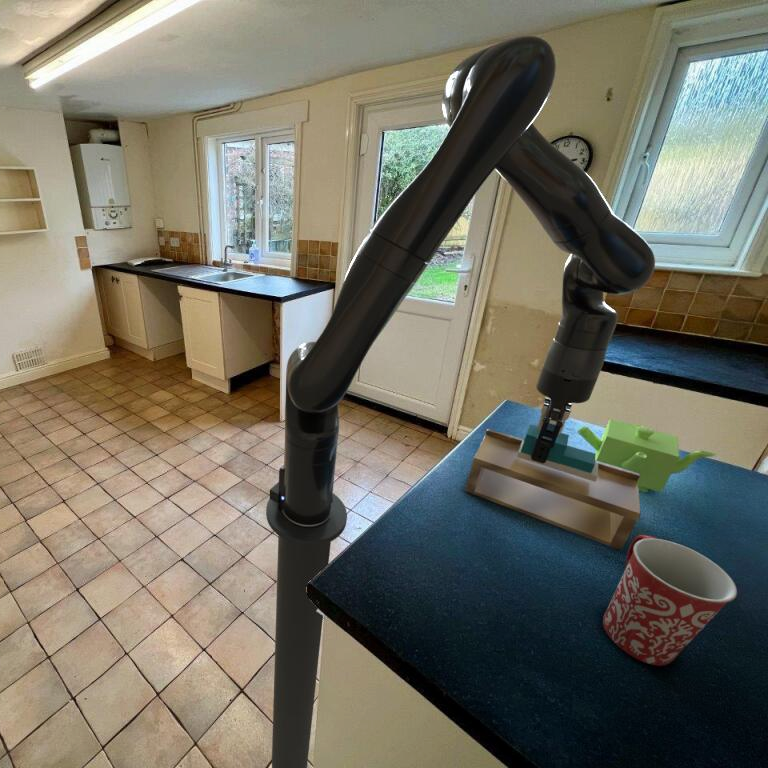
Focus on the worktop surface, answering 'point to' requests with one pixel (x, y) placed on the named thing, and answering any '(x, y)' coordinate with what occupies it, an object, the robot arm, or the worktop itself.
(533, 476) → the shoe shelf
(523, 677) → the worktop surface
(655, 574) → the mug
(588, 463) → the trainer
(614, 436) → the kettle
